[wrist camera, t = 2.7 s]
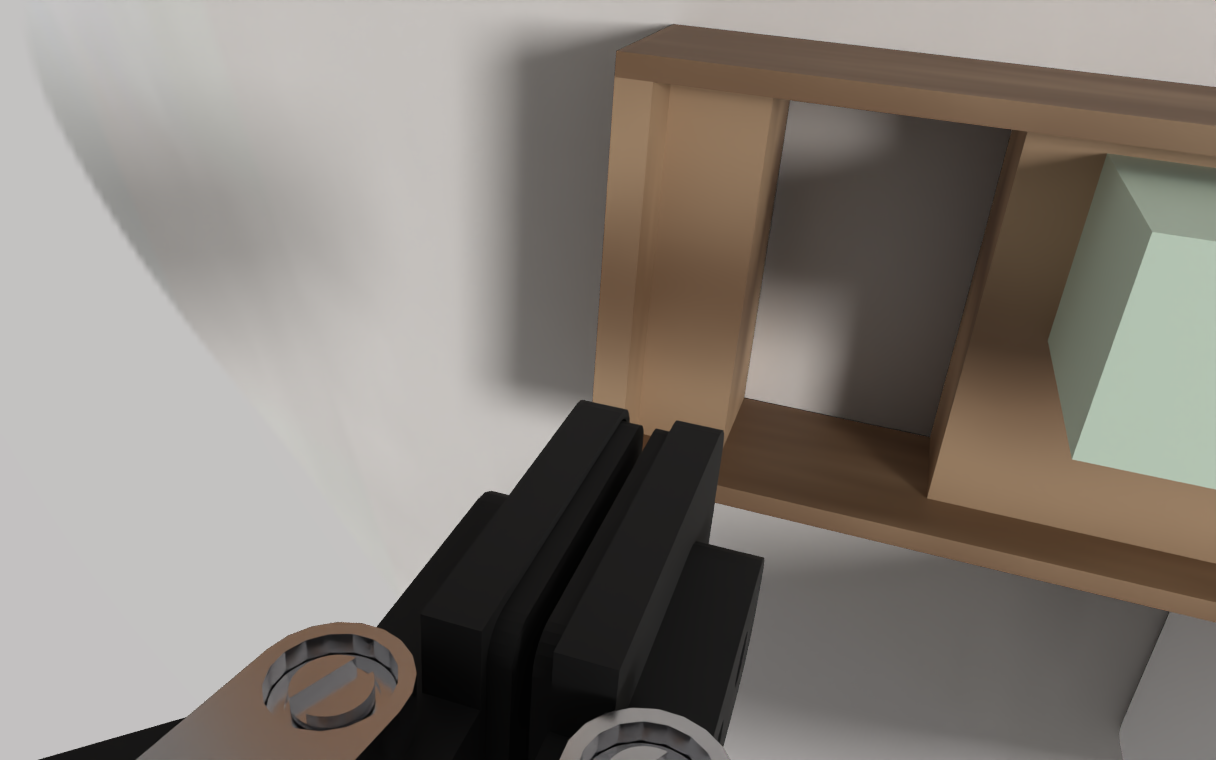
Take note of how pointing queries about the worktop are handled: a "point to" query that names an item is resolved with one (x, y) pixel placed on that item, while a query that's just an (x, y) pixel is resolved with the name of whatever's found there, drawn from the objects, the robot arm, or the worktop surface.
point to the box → (989, 330)
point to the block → (1142, 324)
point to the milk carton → (1175, 696)
